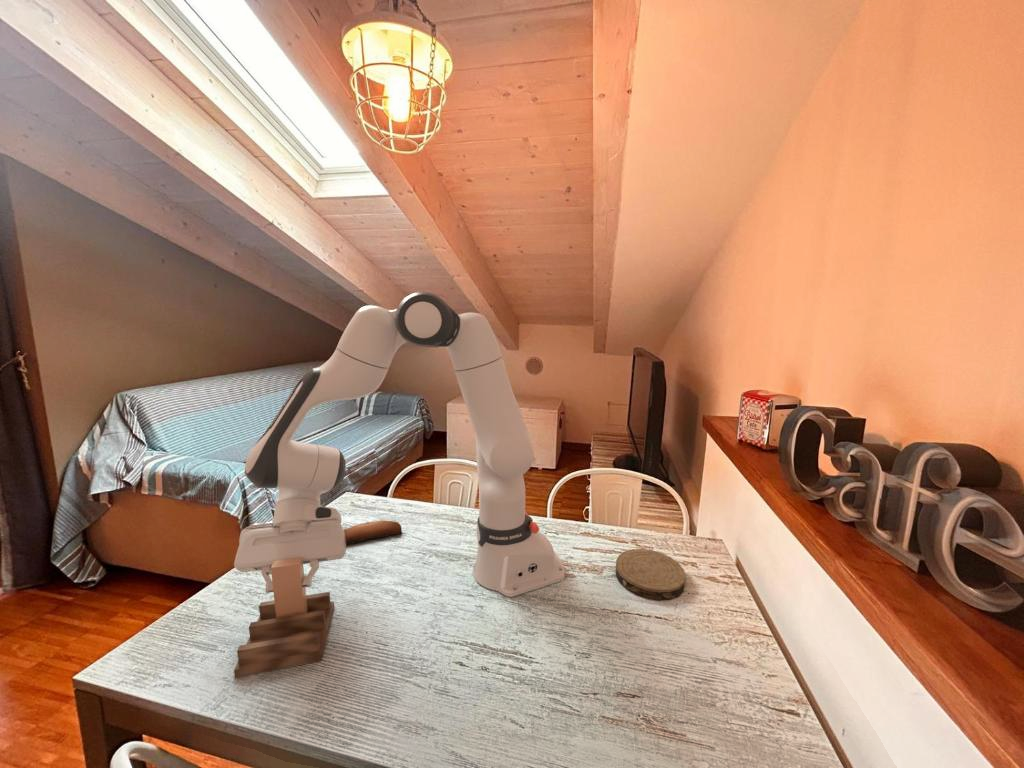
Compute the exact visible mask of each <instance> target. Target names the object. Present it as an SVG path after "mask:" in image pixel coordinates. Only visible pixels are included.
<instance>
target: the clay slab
mask: <svg viewBox="0 0 1024 768" xmlns="http://www.w3.org/2000/svg"><path fill="white" fill-rule="evenodd" d="M270 575H271V580H272V583H273V592H272V593H273V598H274V599H273V600H274V601H275V610H276V618H281V617H287V616H293V615H300V614H306V613H307V599H306V595H307V590H306V587H302V582H303V581H302V578H303V576H305V571H304V564H303V557H298V558H291V559H283V560H276V561H274V563H273V565H272V567H271V574H270Z"/></svg>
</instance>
